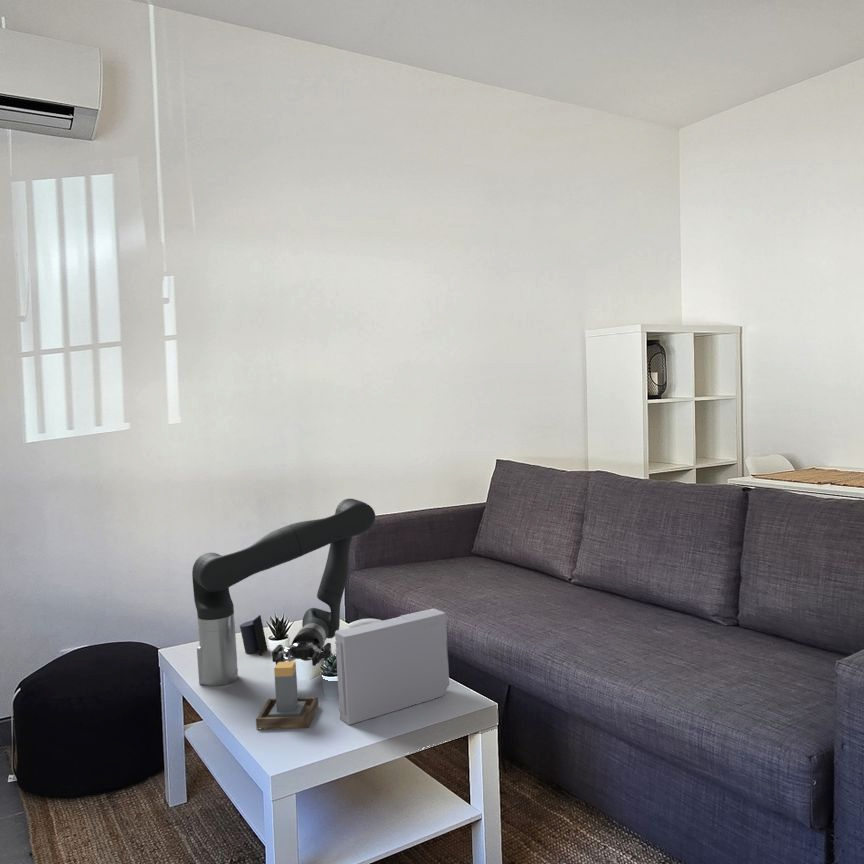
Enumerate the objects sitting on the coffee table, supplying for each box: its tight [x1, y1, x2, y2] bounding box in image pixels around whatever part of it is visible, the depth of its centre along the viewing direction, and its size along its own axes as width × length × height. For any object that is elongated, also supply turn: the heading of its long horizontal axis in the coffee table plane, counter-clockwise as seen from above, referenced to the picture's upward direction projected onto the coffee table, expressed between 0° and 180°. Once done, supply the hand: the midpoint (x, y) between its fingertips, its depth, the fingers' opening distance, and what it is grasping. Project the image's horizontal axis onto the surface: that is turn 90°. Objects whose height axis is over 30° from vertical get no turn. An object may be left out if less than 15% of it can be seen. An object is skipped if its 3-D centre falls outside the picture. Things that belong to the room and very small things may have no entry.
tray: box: [255, 696, 319, 730], centre depth 180 cm, size 12×12×2 cm
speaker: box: [239, 615, 268, 657], centre depth 230 cm, size 8×6×10 cm
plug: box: [269, 660, 306, 717], centre depth 180 cm, size 7×7×12 cm
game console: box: [334, 608, 450, 726], centre depth 184 cm, size 6×27×20 cm, turn 123°
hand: (296, 662), depth 191 cm, fingers open, 8 cm apart
